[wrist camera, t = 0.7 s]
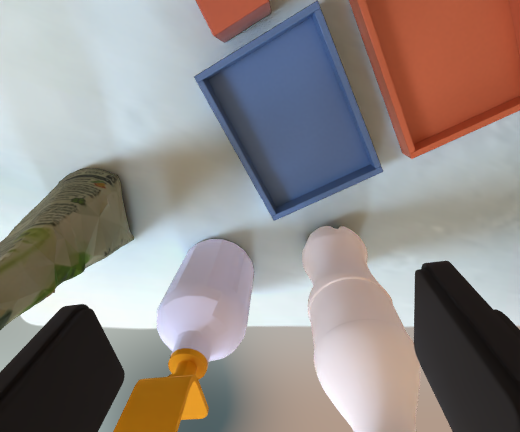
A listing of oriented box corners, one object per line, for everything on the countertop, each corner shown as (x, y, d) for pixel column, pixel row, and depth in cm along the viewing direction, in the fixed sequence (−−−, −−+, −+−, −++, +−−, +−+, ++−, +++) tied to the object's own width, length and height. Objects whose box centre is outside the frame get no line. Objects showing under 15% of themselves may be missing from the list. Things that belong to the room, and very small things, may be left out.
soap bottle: (195, 300, 42) (97, 554, 20) (176, 241, 38) (29, 472, 16) (259, 293, 41) (234, 555, 18) (246, 232, 37) (194, 466, 15)
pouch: (150, 178, 35) (-90, 366, 12) (142, 264, 40) (-39, 511, 17) (53, 155, 35) (-383, 305, 12) (57, 244, 40) (-244, 471, 17)
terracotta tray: (344, -12, 27) (350, -20, 24) (493, -104, 24) (516, -123, 22) (402, 153, 32) (411, 159, 30) (529, 95, 29) (550, 96, 27)
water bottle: (364, 218, 35) (514, 470, 13) (357, 270, 38) (467, 551, 16) (302, 217, 36) (338, 459, 13) (299, 269, 39) (325, 539, 16)
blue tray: (200, 77, 30) (193, 76, 28) (314, 6, 27) (317, 0, 25) (274, 211, 36) (273, 220, 34) (376, 165, 33) (383, 171, 31)
